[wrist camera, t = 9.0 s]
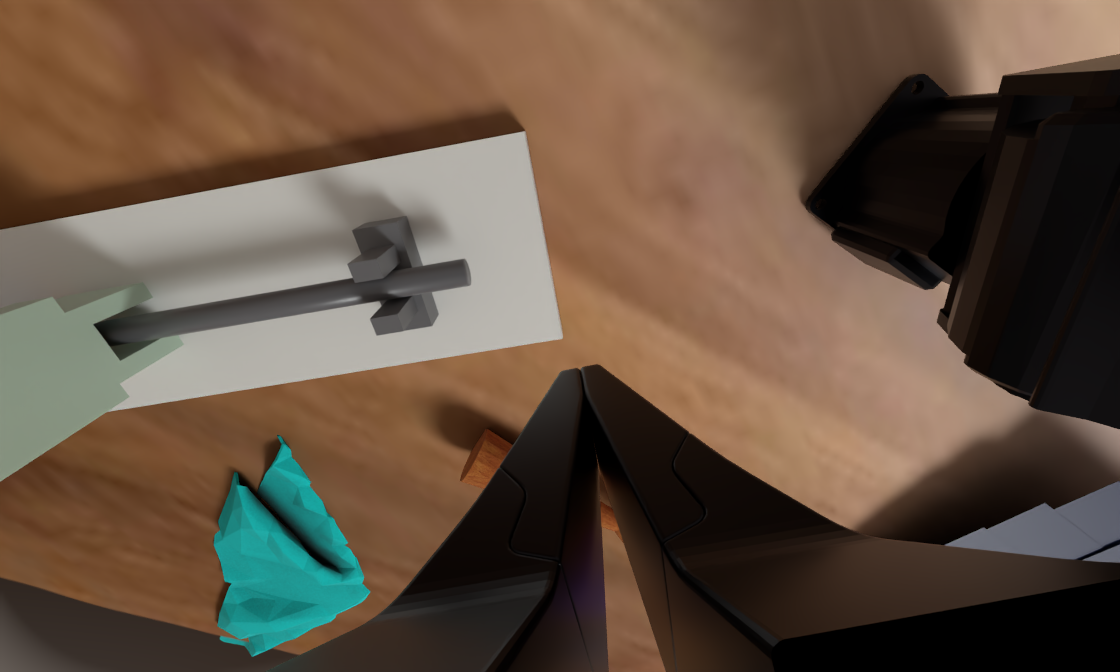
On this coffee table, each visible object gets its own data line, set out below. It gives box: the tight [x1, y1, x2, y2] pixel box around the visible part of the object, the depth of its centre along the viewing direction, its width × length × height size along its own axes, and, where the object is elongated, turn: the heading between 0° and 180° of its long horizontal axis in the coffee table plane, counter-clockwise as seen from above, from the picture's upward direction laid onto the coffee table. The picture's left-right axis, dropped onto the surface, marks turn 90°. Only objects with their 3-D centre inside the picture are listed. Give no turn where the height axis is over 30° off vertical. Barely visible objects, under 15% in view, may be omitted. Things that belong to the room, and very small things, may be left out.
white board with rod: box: [0, 131, 563, 412], centre depth 20 cm, size 30×10×5 cm, turn 100°
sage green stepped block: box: [0, 282, 184, 481], centre depth 16 cm, size 4×5×10 cm
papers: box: [945, 481, 1120, 562], centre depth 35 cm, size 24×30×4 cm
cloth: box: [214, 435, 370, 657], centre depth 31 cm, size 26×14×2 cm, turn 146°
